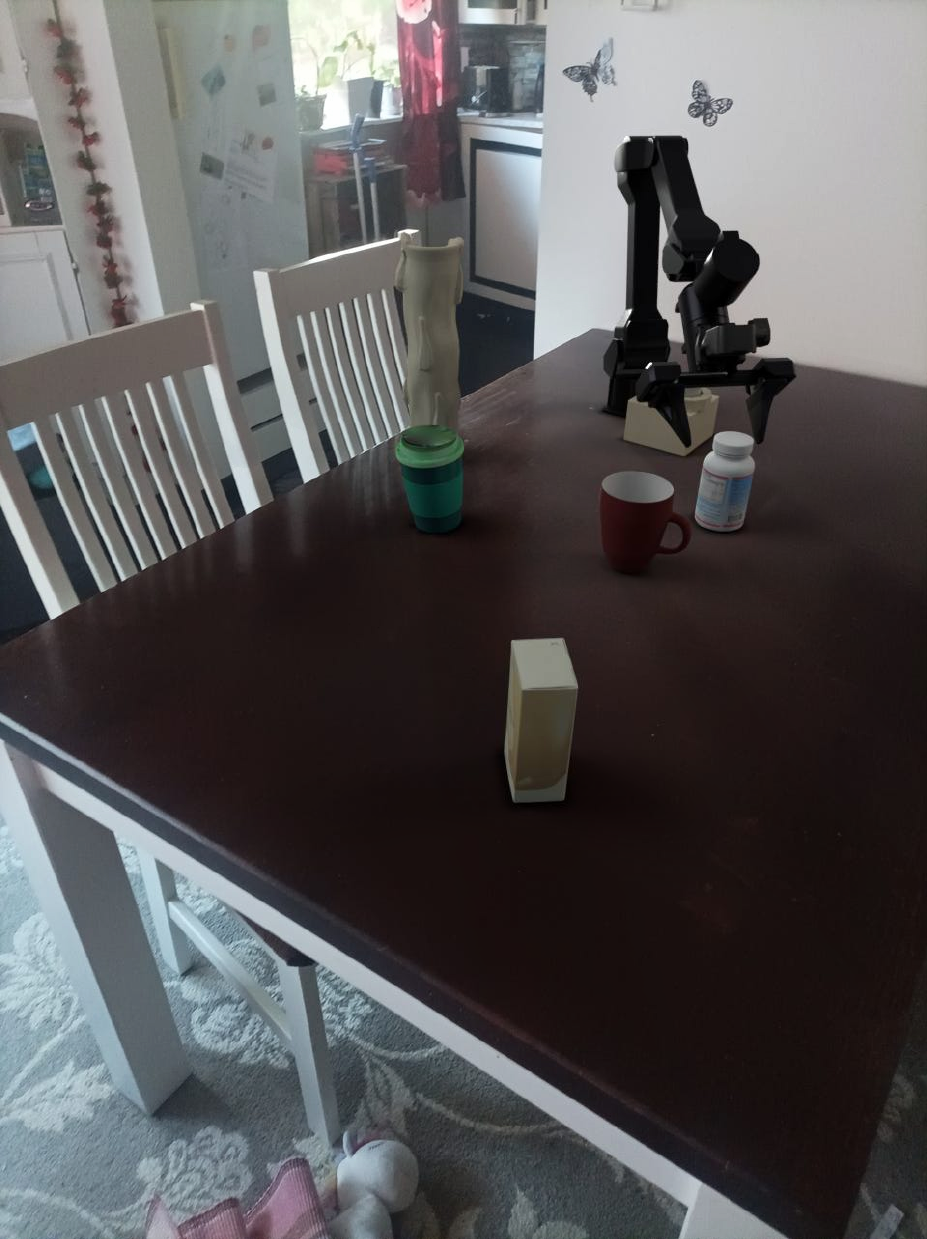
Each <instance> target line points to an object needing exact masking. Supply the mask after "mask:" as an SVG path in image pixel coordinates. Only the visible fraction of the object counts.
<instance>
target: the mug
mask: <svg viewBox="0 0 927 1239" xmlns="http://www.w3.org/2000/svg"><path fill="white" fill-rule="evenodd" d="M675 492H676V491H675V486H674V485H673V483H671V481H669V480H668V479H666V478H664V477H662V476H661V475H657V474H654V473H650V472H645V471H638V470H637V471H636V470H626V471H618V472H613V473H610V474H608V475H606V476H605V477H604V478H603V479H602V480H601V483H600V489H599V495H598V520H599V521H598V522H599V533H600V534H599V535H600V545H601V548H602V550H603V553H604V555H605V557H606V560H607V562H608V564H609V565H610V567H611V568H612V569H613V570H614V571H617V572H620V573H623V574H635V573H639V572H641V571H643V570H644V569H645V568H646V567H647V565H649V563H650V562H651V561H652V560H653V558H654V557H655V556H656V555H657V554H659V555H675V554H678V553H681V552H682V551H684V550H685V549H686V548H687V547H688V545H689V544H690V543H691V542H690V541H691V539H692V527H691V523H690V522H689V520H688V519H687V518H686V517H685V516H684V515H683V514H681V513H678V512H675V511H673V509H674V500H675ZM669 523H673V524H675V525H677V526H678V527H679V529H680V530H681V540H680V541H679V542H678V543H677V544H675V545H669V546H664V545H661V544H662V541H663V538H664V536H665V532H666V530H667V528H668V525H669Z"/></svg>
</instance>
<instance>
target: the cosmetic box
mask: <svg viewBox="0 0 927 1239" xmlns="http://www.w3.org/2000/svg"><path fill="white" fill-rule="evenodd" d="M508 676H509V677H508V693H507V708H506V722H505V724H506V725H505V736H504V759H505V767H506V774H507V780H508V784H509V789H510V793H511V798H512V802H513V803H514V804H517V803H519V804H520V803H543V802H545V803H546V802H561V801H564V800H565V797H566V796H565V795H566V790H567V789H566V787H567V779H568V773H569V772H568V771H569V765H570V758H571V757H570V755H571V749H572V748H571V747H572V740H573V733H574V726H575V725H574V723H575V715H576V709H577V700H578V692H579V685H578V680H577V677H576V675H575V671H574V667H573V663H572V660H571V658H570V654H569V650H568V648H567V644H566V641H565V639H564V638H563V637H556V638H553V637H551V638H529V639H512V640H511V642H510V660H509V675H508Z"/></svg>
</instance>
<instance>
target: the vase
mask: <svg viewBox="0 0 927 1239" xmlns="http://www.w3.org/2000/svg"><path fill="white" fill-rule="evenodd" d="M464 247H465V240H464V239H463V238H462V237H460V236H457V237H455V238H450V239H449V240H448V244H447V245H446V246H418V245H413V241H412V236H411V235H410V234H409V233H407V232H405V231H402V232H401V233H400V259H399V261H398V264H397V266H396V269H395V276H394V284H395V289H396V290H397V291H398V292H401V293H402V310H403V320H404V327H405V332H406V336H407V358H406V359H407V360H406V372H405V373H406V374H405V377H404V381H403V383H402V389H401V390H402V391H401V395H402V396H401V397H402V400H403V402H404V404H406V405H408V412H409V422H410V423H409V424H410V428H411V427H415V426H419V425H440V426H445V427H448V428H450V429H452V430H453V431H454V432H455V433H456V435H458V436H459V411H460V409H461V406H462V395H461V389H460V384H459V380H458V379H459V370H460V368H459V367H460V366H459V365H460V341H459V340H460V339H459V333H458V329H457V328H458V327H457V322H456V314H457V313H456V310H457V305H460V304H461V303H462V298H463V293H464V274H463V270H462V264H461V255H462V252H463V250H464Z"/></svg>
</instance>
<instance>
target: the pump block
mask: <svg viewBox="0 0 927 1239" xmlns="http://www.w3.org/2000/svg"><path fill="white" fill-rule="evenodd" d="M684 402H685V407H686V412H687V417H688V422H689V427H690V432H691V443H692V444H691V446H690V447H689V448H685V446H684V445H683V443H682V442H681V441H680V439H679V438H678V436H677V435H676V433H675V432H674V431H673V429H672V427H671V426H670V425H669V424H668V422H667V421H666V420H665V419H664V418H663V417H662V416H661V415H660V413H659V412H658V411H657V410H656V409H655V408H649V407H648V402H643V403H640V402H638V401H637V397H636V396H635V397H633V398H631V399H630V400H628V406H627V415H626V418H625V424H624V431H623V441H627V442H630V443H633V444H637V445H642V446H644V447H645V446H646V447H649V448H652V449H655V450H660V451H663V452H667V453H671V454H674V455H678V456H681V457H686V456H687V455H689V454H690V453H691V452H692V451H694V450H695V449H696V448H698V447H699V446H701V445H702V444H703V443H704V442H706V441H707V440H708V439H710V438H711V437H712V436H713V434H714V428H715V424H716V417H717V413H718V412H717V411H718V406H719V402H720V396H719V395H715V394H712V390H711V389H709V388H708V387H706V388H702V391H701V396H699V397H692V398H691V397H684Z"/></svg>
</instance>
